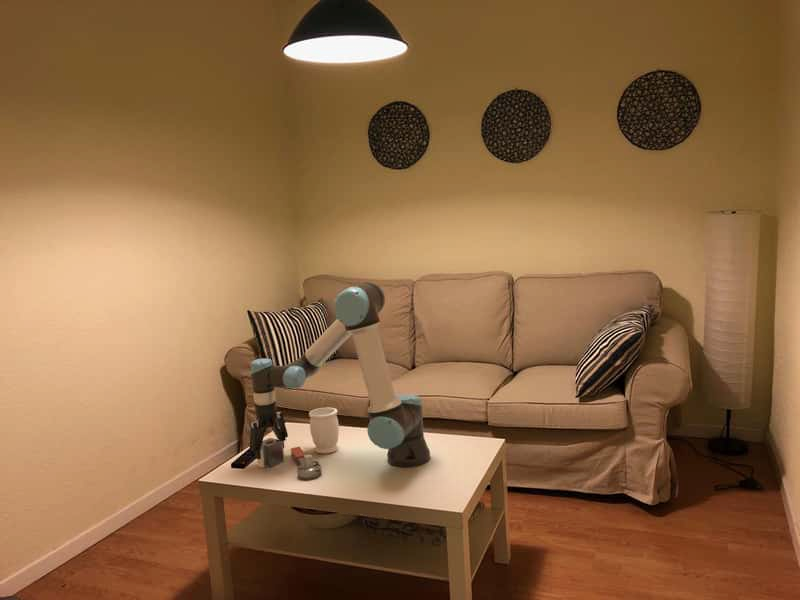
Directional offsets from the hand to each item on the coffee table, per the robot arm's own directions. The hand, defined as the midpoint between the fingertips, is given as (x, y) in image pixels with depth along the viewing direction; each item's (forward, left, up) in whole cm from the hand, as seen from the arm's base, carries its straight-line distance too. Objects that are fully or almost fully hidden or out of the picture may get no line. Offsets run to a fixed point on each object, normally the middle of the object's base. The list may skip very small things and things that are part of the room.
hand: (271, 462), depth 249 cm
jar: (-9, -19, 0) cm, 21 cm away
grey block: (0, 0, 0) cm, 0 cm away
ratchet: (-13, -4, 0) cm, 14 cm away
